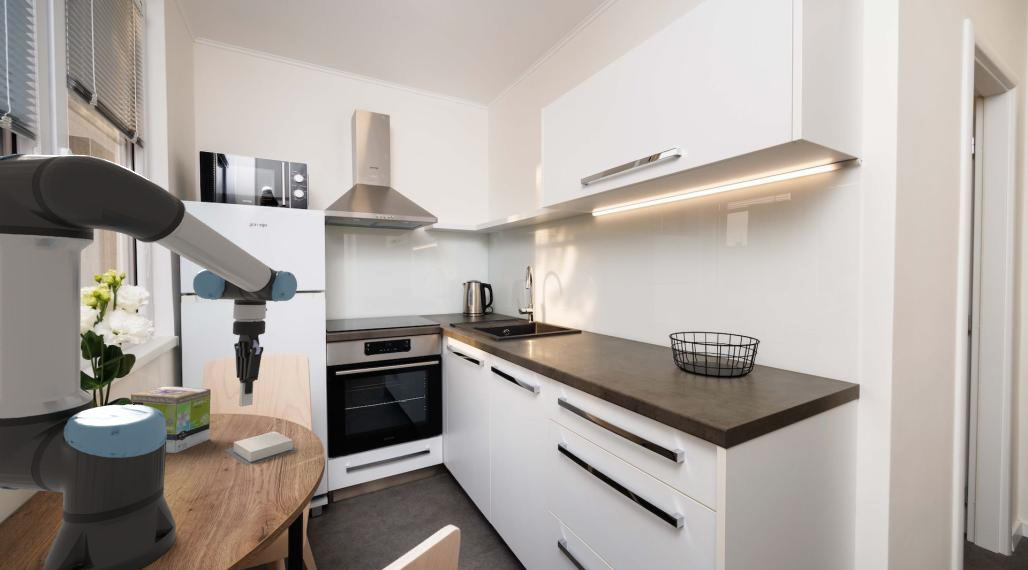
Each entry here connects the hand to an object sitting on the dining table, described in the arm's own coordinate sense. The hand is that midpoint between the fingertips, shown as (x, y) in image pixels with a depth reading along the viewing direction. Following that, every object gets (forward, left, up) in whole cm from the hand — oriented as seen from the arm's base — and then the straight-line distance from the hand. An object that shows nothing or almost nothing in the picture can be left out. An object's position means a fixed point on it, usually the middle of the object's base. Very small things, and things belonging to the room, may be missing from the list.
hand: (245, 405), depth 110 cm
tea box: (-13, +14, -11) cm, 22 cm away
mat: (0, -9, -11) cm, 14 cm away
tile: (0, -5, -9) cm, 10 cm away
